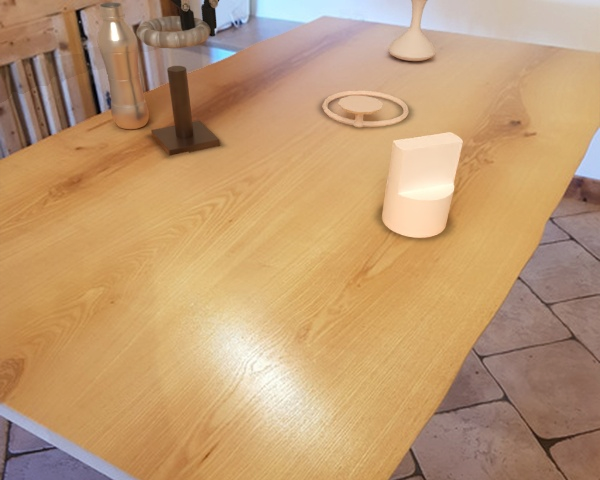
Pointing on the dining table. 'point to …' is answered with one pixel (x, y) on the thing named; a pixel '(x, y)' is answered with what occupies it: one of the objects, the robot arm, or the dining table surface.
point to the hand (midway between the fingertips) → (199, 34)
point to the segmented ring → (172, 33)
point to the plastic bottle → (122, 68)
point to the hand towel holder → (363, 107)
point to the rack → (183, 120)
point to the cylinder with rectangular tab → (421, 184)
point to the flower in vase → (413, 38)
